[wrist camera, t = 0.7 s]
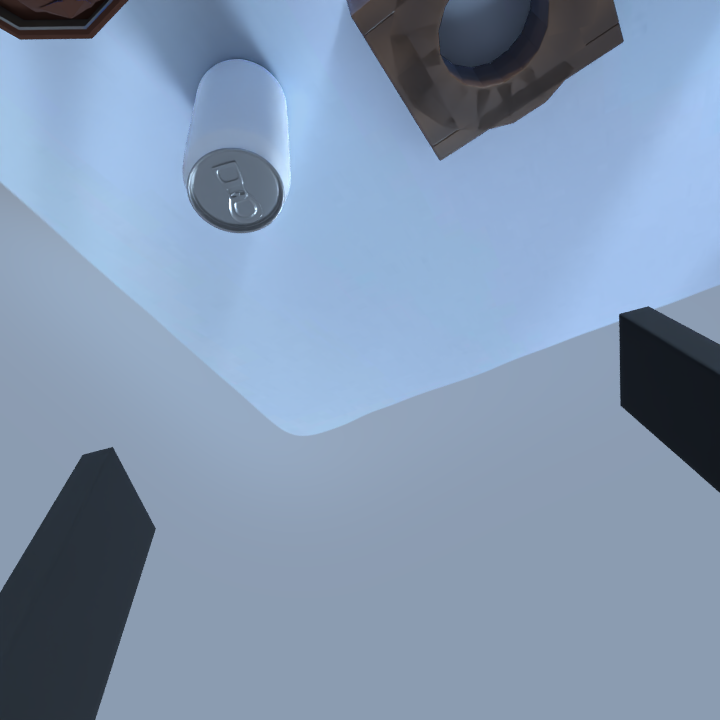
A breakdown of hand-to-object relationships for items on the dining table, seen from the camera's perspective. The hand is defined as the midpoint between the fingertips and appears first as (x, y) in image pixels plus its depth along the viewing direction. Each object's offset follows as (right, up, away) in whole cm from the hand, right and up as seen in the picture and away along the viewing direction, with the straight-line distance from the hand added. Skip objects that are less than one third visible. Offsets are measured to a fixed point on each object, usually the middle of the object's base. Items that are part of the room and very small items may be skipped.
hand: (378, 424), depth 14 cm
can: (-9, +21, +26) cm, 34 cm away
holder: (+8, +25, +23) cm, 35 cm away
